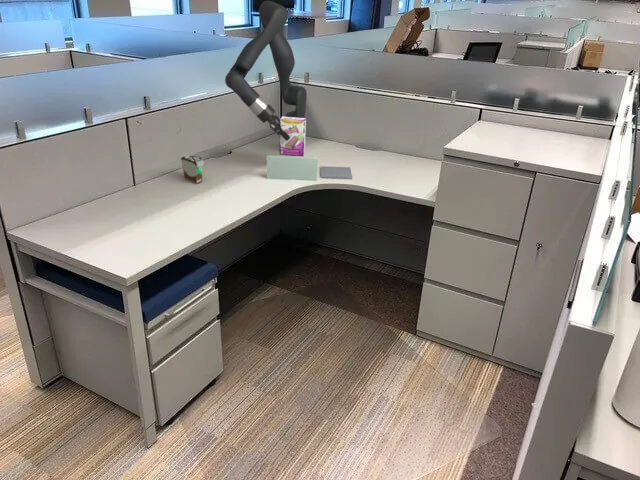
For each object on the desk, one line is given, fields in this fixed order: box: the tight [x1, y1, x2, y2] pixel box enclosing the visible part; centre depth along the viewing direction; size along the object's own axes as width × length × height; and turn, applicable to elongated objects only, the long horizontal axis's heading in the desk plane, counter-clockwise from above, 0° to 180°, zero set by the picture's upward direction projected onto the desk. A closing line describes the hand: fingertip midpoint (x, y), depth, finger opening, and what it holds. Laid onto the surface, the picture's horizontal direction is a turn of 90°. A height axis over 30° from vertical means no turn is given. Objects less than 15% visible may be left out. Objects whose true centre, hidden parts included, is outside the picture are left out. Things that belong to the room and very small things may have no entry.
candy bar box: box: [279, 115, 307, 157], centre depth 224 cm, size 11×5×16 cm, turn 84°
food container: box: [180, 154, 205, 185], centre depth 216 cm, size 12×6×10 cm, turn 47°
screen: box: [266, 155, 319, 181], centre depth 221 cm, size 2×22×10 cm, turn 91°
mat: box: [320, 165, 353, 180], centre depth 232 cm, size 14×14×1 cm
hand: (288, 137), depth 224 cm, fingers closed on candy bar box, 5 cm apart
